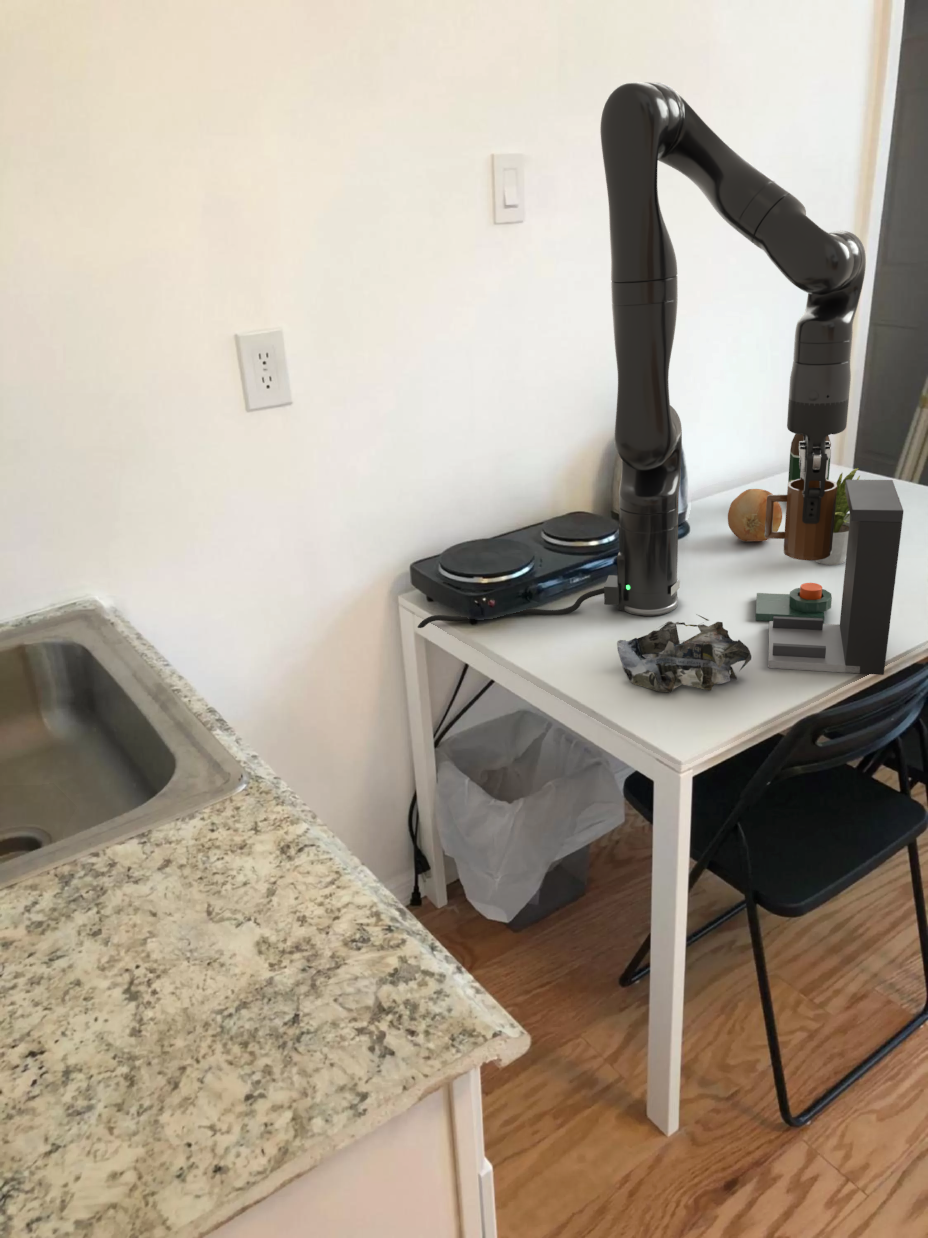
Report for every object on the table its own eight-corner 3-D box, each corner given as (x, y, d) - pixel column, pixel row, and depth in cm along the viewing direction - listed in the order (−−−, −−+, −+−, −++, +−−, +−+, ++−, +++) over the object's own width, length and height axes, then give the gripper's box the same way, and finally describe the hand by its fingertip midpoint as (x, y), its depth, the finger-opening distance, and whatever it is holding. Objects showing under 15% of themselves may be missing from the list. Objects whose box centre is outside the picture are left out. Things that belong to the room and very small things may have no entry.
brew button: (799, 600, 144) (800, 590, 144) (799, 592, 147) (800, 582, 146) (821, 601, 143) (822, 591, 143) (820, 593, 146) (821, 582, 146)
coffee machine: (768, 668, 131) (778, 508, 122) (768, 628, 143) (777, 479, 133) (883, 675, 127) (903, 510, 117) (875, 633, 138) (892, 479, 128)
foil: (664, 624, 139) (732, 598, 126) (689, 692, 138) (760, 673, 125) (603, 644, 134) (668, 619, 121) (629, 715, 133) (697, 698, 120)
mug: (829, 544, 135) (835, 477, 131) (832, 561, 129) (838, 492, 125) (763, 543, 137) (767, 477, 133) (763, 559, 132) (767, 491, 128)
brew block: (755, 620, 145) (756, 602, 144) (756, 599, 152) (757, 582, 151) (831, 624, 142) (832, 606, 141) (828, 602, 149) (830, 585, 148)
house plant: (806, 537, 175) (813, 452, 168) (883, 550, 166) (893, 461, 159) (774, 562, 165) (779, 473, 158) (853, 577, 157) (862, 483, 150)
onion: (728, 550, 172) (730, 499, 168) (724, 532, 181) (726, 482, 177) (783, 550, 170) (787, 497, 166) (777, 531, 179) (780, 481, 175)
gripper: (853, 406, 116) (841, 532, 123) (845, 382, 129) (835, 498, 136) (789, 407, 118) (781, 531, 125) (788, 384, 131) (780, 497, 138)
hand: (809, 513), depth 131 cm, fingers closed on mug, 6 cm apart
